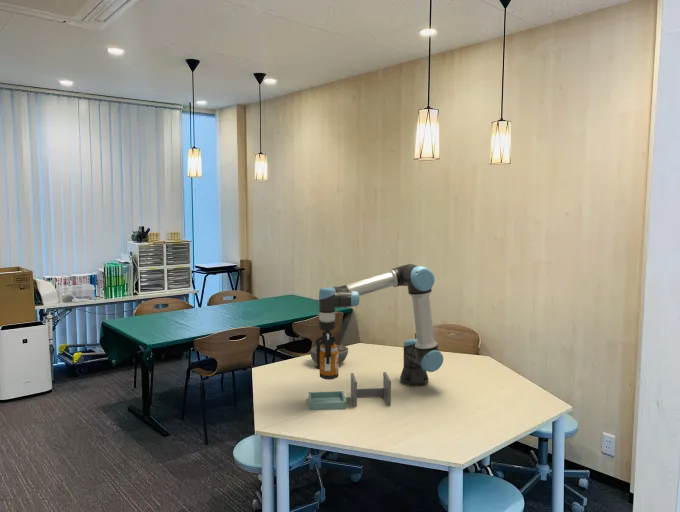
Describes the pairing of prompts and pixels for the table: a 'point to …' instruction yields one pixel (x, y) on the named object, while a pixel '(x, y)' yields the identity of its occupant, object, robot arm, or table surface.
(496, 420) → the table surface
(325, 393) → the tray
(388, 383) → the dock
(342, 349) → the bowl
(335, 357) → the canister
